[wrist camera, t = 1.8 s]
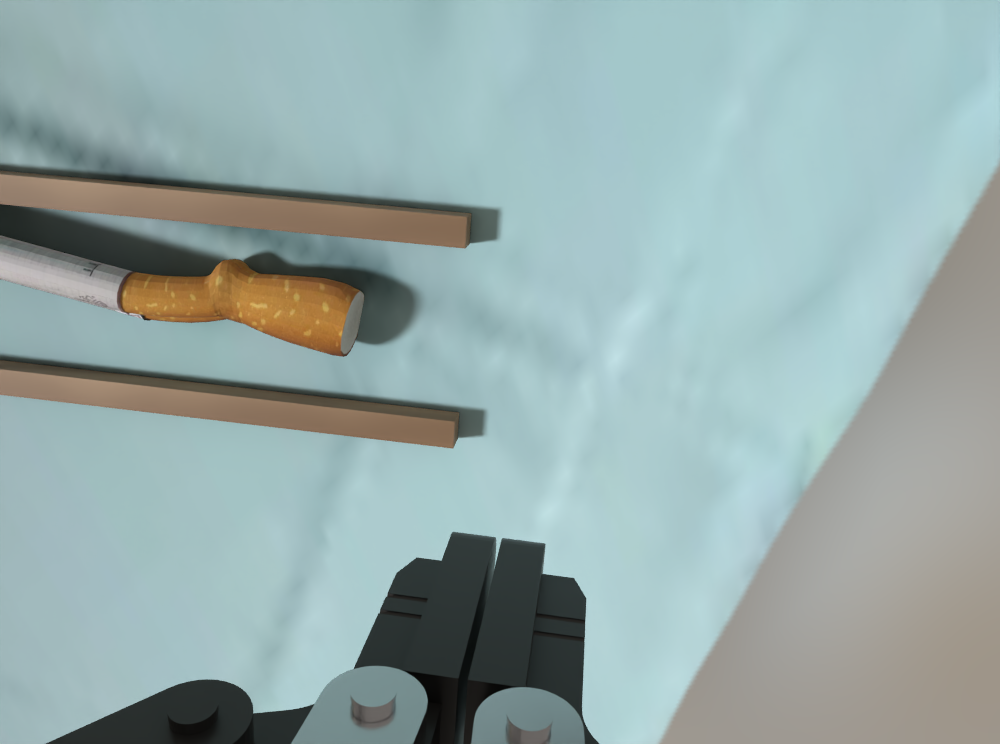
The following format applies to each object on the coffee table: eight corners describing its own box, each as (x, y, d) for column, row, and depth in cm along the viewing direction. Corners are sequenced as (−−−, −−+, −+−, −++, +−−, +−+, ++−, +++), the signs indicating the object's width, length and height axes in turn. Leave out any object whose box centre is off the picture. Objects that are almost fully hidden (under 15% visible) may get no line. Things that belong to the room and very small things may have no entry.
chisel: (355, 279, 26) (328, 369, 26) (372, 295, 29) (348, 376, 29) (-194, 130, 27) (-225, 216, 27) (-125, 161, 30) (-151, 238, 30)
